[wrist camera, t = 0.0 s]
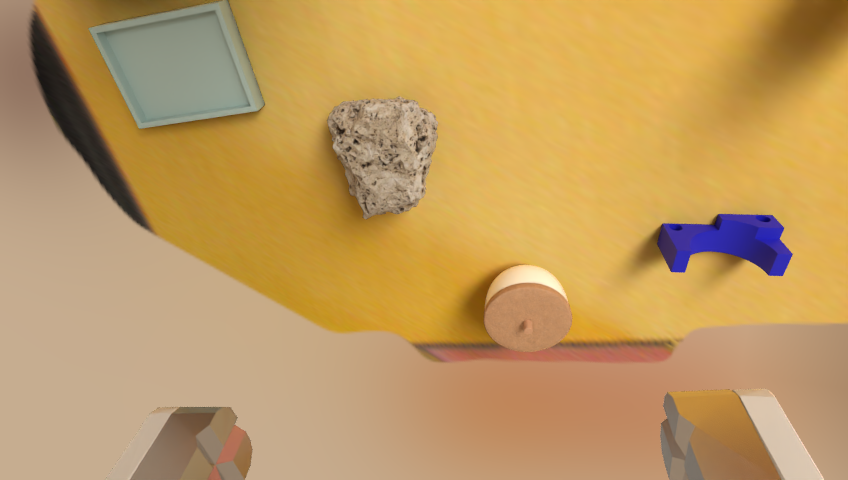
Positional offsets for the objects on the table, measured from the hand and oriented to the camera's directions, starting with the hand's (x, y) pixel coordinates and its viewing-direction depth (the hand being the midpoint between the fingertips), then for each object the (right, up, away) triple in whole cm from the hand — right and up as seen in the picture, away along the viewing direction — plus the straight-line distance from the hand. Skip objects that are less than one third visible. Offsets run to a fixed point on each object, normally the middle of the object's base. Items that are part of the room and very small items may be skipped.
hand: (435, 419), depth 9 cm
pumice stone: (-4, +15, +49) cm, 52 cm away
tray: (-27, +23, +46) cm, 59 cm away
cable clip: (+35, +5, +51) cm, 62 cm away
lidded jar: (+13, -2, +58) cm, 60 cm away
